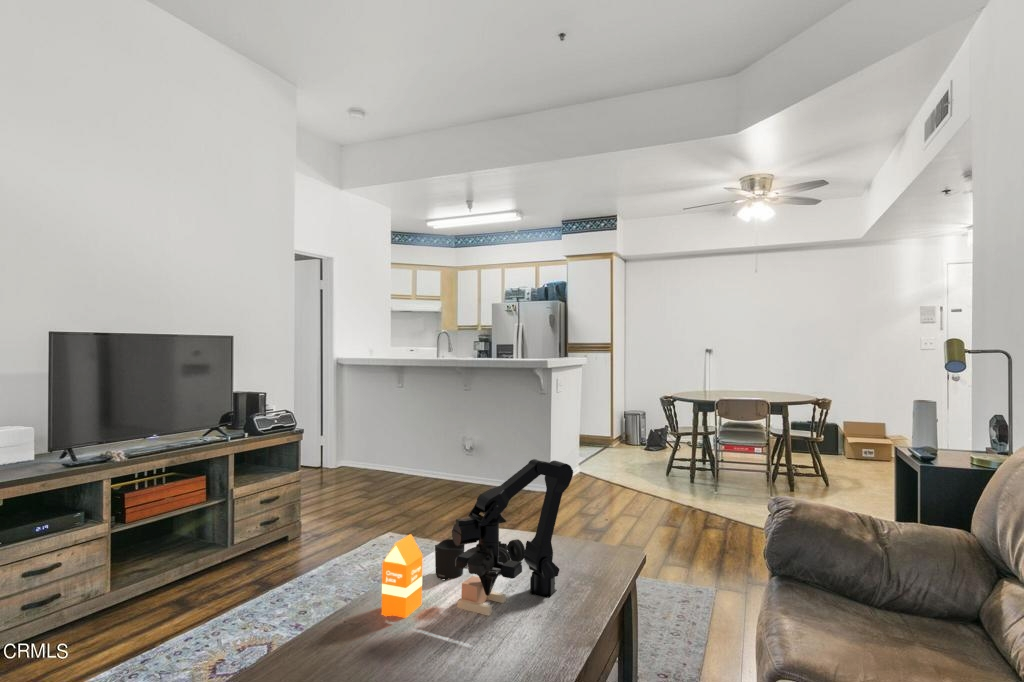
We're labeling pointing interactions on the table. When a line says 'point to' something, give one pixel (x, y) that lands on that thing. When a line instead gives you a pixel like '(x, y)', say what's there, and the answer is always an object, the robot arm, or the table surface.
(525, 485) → the robot arm
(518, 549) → the headphones
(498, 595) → the beige railed tray
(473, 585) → the block
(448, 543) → the pen holder
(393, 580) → the orange juice
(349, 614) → the table surface
